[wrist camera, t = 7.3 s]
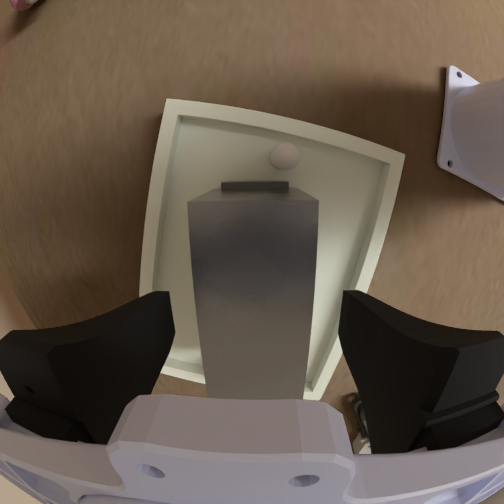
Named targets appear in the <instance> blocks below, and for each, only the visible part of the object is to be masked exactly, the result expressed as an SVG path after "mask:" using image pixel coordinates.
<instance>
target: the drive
mask: <svg viewBox="0 0 504 504" xmlns="http://www.w3.org/2000/svg"><path fill="white" fill-rule="evenodd" d="M187 210H188V227H189V241H190V254H191V267H192V278H193V288H194V298H195V308H196V316H197V325H198V333H199V341H200V349H201V356H202V363H203V370H204V377H205V384H206V390H207V396H208V398H218V399H245V400H275V399H300V400H303V396H304V389H305V381H306V373H307V365H308V356H309V347H310V338H311V328H312V317H313V305H314V292H315V278H316V262H317V243H318V217H319V200H317V199H316V198H314V197H312V196H310V195H309V194H307V193H305V192H303V191H302V190H300V189H298V188H289V182H288V181H224V182H221V188H217V189H213V190H211V191H208V192H206V193H204V194H202V195H200V196H198V197H196V198H194V199H192V200H190V201H188V202H187Z"/></svg>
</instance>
